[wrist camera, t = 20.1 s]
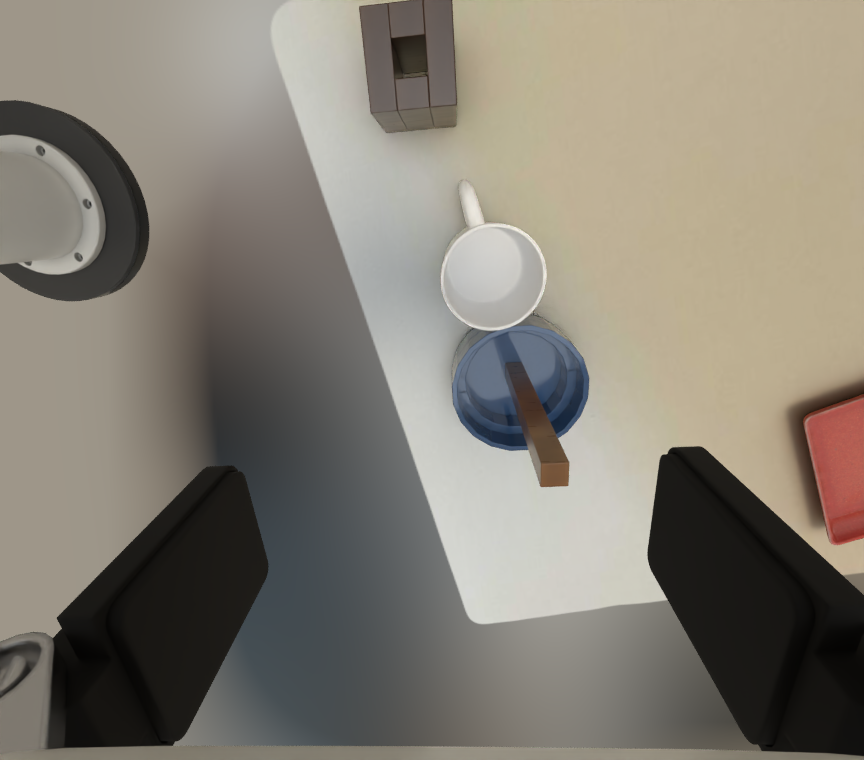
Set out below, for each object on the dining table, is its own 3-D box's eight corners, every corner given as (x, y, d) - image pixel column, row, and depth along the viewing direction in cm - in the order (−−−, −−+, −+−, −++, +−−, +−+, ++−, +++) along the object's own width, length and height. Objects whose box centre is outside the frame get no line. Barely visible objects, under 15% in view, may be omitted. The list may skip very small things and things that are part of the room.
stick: (505, 378, 46) (540, 487, 28) (504, 362, 46) (540, 463, 27) (521, 377, 46) (568, 486, 28) (521, 361, 46) (569, 462, 27)
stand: (386, 133, 39) (370, 113, 31) (377, 48, 37) (358, 5, 29) (456, 126, 39) (457, 105, 31) (452, 40, 36) (452, -5, 29)
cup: (457, 316, 45) (458, 343, 35) (420, 199, 41) (410, 194, 31) (534, 292, 43) (557, 313, 34) (504, 168, 40) (520, 153, 30)
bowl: (455, 426, 49) (456, 453, 44) (449, 315, 45) (448, 330, 39) (569, 421, 48) (585, 447, 43) (575, 307, 44) (592, 321, 38)
